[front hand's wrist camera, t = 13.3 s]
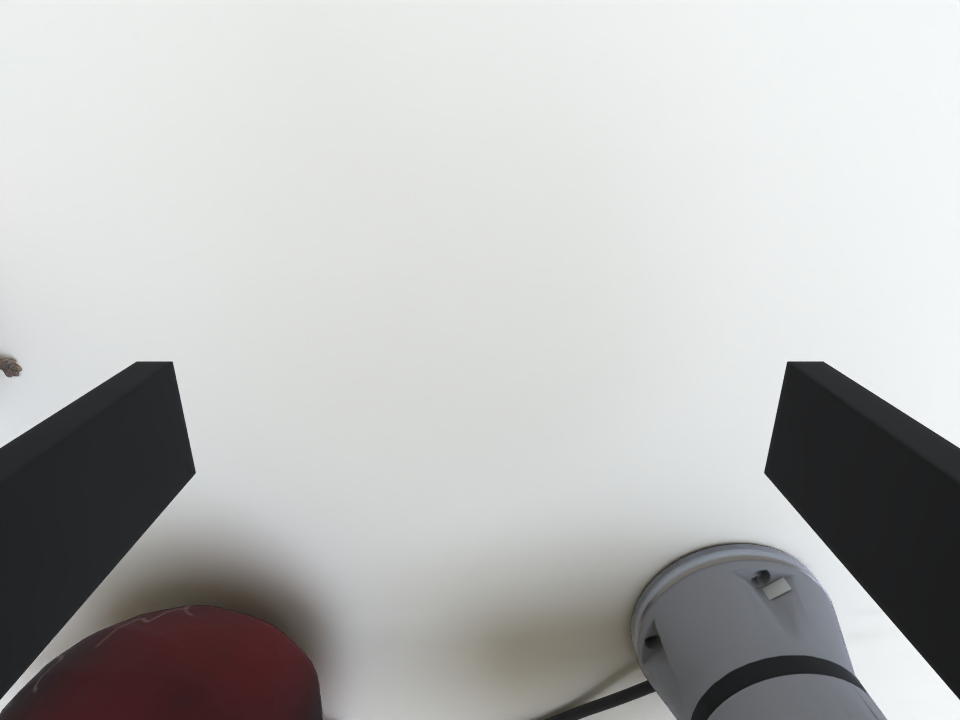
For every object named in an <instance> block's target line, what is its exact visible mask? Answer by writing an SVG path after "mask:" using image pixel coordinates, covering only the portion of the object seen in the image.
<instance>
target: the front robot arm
mask: <svg viewBox="0 0 960 720" xmlns="http://www.w3.org/2000/svg"><path fill="white" fill-rule="evenodd" d="M195 473H196V472H195V467H194V462H193V457H192V452H191V448H190V443H189V438H188V433H187V428H186V423H185V419H184V414H183V409H182V404H181V399H180V395H179V390H178V385H177V380H176V375H175V371H174V366H173V362H135V363H134V364H132V365H131V366H129V367H127V368H126V369H124V370H123V371H121V372H120V373H118V374H116V375H115V376H113V377H112V378H110V379H109V380H107V381H105V382H104V383H102V384H101V385H99V386H98V387H96V388H94V389H93V390H91V391H90V392H88V393H87V394H85V395H83V396H82V397H80V398H79V399H77V400H76V401H74V402H72V403H71V404H69V405H68V406H66V407H65V408H63V409H61V410H60V411H58V412H57V413H55V414H54V415H52V416H50V417H49V418H47V419H46V420H44V421H43V422H41V423H39V424H38V425H36V426H35V427H33V428H32V429H30V430H28V431H27V432H25V433H24V434H22V435H20V436H19V437H17V438H16V439H14V440H13V441H11V442H9V443H8V444H6V445H5V446H3V447H2V448H0V699H1V698H2V697H3V696H4V695H5V694H6V692H7V691H8V690H9V689H10V688H11V687H12V686H13V684H14V683H15V682H16V681H17V680H18V679H19V677H20V676H21V675H22V674H23V673H24V672H25V670H26V669H27V668H28V667H29V666H30V665H31V663H32V662H33V661H34V660H35V659H36V658H37V657H38V655H39V654H40V653H41V652H42V651H43V650H44V648H45V647H46V646H47V645H48V644H49V643H50V641H51V640H52V639H53V638H54V637H55V636H56V635H57V633H58V632H59V631H60V630H61V629H62V628H63V626H64V625H65V624H66V623H67V622H68V621H69V619H70V618H71V617H72V616H73V615H74V614H75V612H76V611H77V610H78V609H79V608H80V607H81V606H82V604H83V603H84V602H85V601H86V600H87V599H88V597H89V596H90V595H91V594H92V593H93V592H94V590H95V589H96V588H97V587H98V586H99V585H100V583H101V582H102V581H103V580H104V579H105V578H106V577H107V575H108V574H109V573H110V572H111V571H112V570H113V568H114V567H115V566H116V565H117V564H118V563H119V561H120V560H121V559H122V558H123V557H124V556H125V555H126V553H127V552H128V551H129V550H130V549H131V548H132V546H133V545H134V544H135V543H136V542H137V541H138V539H139V538H140V537H141V536H142V535H143V534H144V532H145V531H146V530H147V529H148V528H149V527H150V526H151V524H152V523H153V522H154V521H155V520H156V519H157V517H158V516H159V515H160V514H161V513H162V512H163V510H164V509H165V508H166V507H167V506H168V505H169V503H170V502H171V501H172V500H173V499H174V498H175V497H176V495H177V494H178V493H179V492H180V491H181V490H182V488H183V487H184V486H185V485H186V484H187V483H188V481H189V480H190V479H191V478H192V477H193V476H194V475H195ZM764 473H765V475H766V476H767V477H768V478H769V479H770V480H771V481H772V483H773V484H774V485H775V486H776V487H777V488H778V490H779V491H780V492H781V493H782V494H783V495H784V497H785V498H786V499H787V500H788V501H789V502H790V503H791V505H792V506H793V507H794V508H795V509H796V510H797V512H798V513H799V514H800V515H801V516H802V517H803V519H804V520H805V521H806V522H807V523H808V524H809V526H810V527H811V528H812V529H813V530H814V531H815V532H816V534H817V535H818V536H819V537H820V538H821V539H822V541H823V542H824V543H825V544H826V545H827V546H828V548H829V549H830V550H831V551H832V552H833V553H834V555H835V556H836V557H837V558H838V559H839V560H840V561H841V563H842V564H843V565H844V566H845V567H846V568H847V570H848V571H849V572H850V573H851V574H852V575H853V577H854V578H855V579H856V580H857V581H858V582H859V583H860V585H861V586H862V587H863V588H864V589H865V590H866V592H867V593H868V594H869V595H870V596H871V597H872V599H873V600H874V601H875V602H876V603H877V604H878V606H879V607H880V608H881V609H882V610H883V611H884V612H885V614H886V615H887V616H888V617H889V618H890V619H891V621H892V622H893V623H894V624H895V625H896V626H897V628H898V629H899V630H900V631H901V632H902V633H903V635H904V636H905V637H906V638H907V639H908V640H909V641H910V643H911V644H912V645H913V646H914V647H915V648H916V650H917V651H918V652H919V653H920V654H921V655H922V657H923V658H924V659H925V660H926V661H927V662H928V664H929V665H930V666H931V667H932V668H933V669H934V670H935V672H936V673H937V674H938V675H939V676H940V677H941V679H942V680H943V681H944V682H945V683H946V684H947V686H948V687H949V688H950V689H951V690H952V691H953V692H954V694H955V695H956V696H957V697H958V698H959V699H960V448H958V447H957V446H955V445H954V444H952V443H951V442H949V441H947V440H946V439H944V438H943V437H941V436H940V435H938V434H936V433H935V432H933V431H932V430H930V429H928V428H927V427H925V426H924V425H922V424H921V423H919V422H917V421H916V420H914V419H913V418H911V417H910V416H908V415H906V414H905V413H903V412H902V411H900V410H899V409H897V408H895V407H894V406H892V405H891V404H889V403H888V402H886V401H884V400H883V399H881V398H880V397H878V396H877V395H875V394H873V393H872V392H870V391H869V390H867V389H866V388H864V387H862V386H861V385H859V384H858V383H856V382H855V381H853V380H851V379H850V378H848V377H847V376H845V375H844V374H842V373H840V372H839V371H837V370H836V369H834V368H833V367H831V366H829V365H828V364H826V363H825V362H787V366H786V370H785V375H784V380H783V385H782V390H781V395H780V399H779V404H778V409H777V414H776V419H775V423H774V428H773V433H772V438H771V443H770V447H769V452H768V457H767V462H766V467H765V472H764ZM631 636H632V642H633V646H634V649H635V652H636V656H637V659H638V662H639V665H640V667H641V670H642V672H643V674H644V675H645V677H646V678H647V680H648V681H645V682H643V683H640V684H637V685H635V686H632V687H630V688H627V689H625V690H622V691H619V692H617V693H614V694H611V695H609V696H606V697H603V698H600V699H597V700H595V701H592V702H589V703H586V704H583V705H581V706H578V707H576V708H573V709H570V710H568V711H565V712H563V713H560V714H558V715H556V716H553V717H551V718H548V719H546V720H579V719H581V718H584V717H587V716H589V715H592V714H595V713H598V712H601V711H604V710H607V709H610V708H613V707H616V706H618V705H621V704H624V703H626V702H629V701H632V700H634V699H637V698H640V697H642V696H645V695H647V694H650V693H653V692H655V691H656V692H657V693H658V695H659V696H660V697H661V699H662V700H663V701H664V703H665V704H666V705H667V707H668V708H669V709H670V711H671V712H672V713H673V715H674V716H675V717H676V719H677V720H887V719H886V717H885V716H884V715H883V713H882V712H881V711H880V709H879V708H878V706H877V705H876V704H875V702H874V701H873V700H872V698H871V697H870V696H869V694H868V693H867V692H866V690H865V689H864V687H863V686H862V685H861V683H860V682H859V680H858V679H857V677H856V676H855V674H854V670H853V667H852V664H851V661H850V658H849V654H848V651H847V648H846V645H845V642H844V638H843V635H842V632H841V629H840V626H839V623H838V619H837V616H836V613H835V610H834V607H833V604H832V602H831V600H830V598H829V596H828V594H827V593H826V591H825V590H824V589H823V587H822V586H821V585H820V583H819V582H818V581H817V580H816V578H815V577H814V576H813V575H812V573H811V572H810V571H809V570H808V569H807V568H806V567H805V566H804V565H803V564H802V563H801V562H799V561H798V560H796V559H795V558H793V557H792V556H790V555H788V554H786V553H784V552H781V551H779V550H776V549H773V548H770V547H765V546H760V545H752V544H729V545H721V546H716V547H711V548H707V549H704V550H701V551H698V552H695V553H693V554H690V555H688V556H686V557H684V558H682V559H680V560H678V561H676V562H675V563H673V564H672V565H670V566H669V567H667V568H666V569H664V570H663V571H662V572H661V573H660V574H658V575H657V576H656V577H655V578H654V579H653V580H652V581H651V582H650V584H649V585H648V586H647V587H646V589H645V590H644V591H643V593H642V594H641V596H640V598H639V600H638V602H637V604H636V606H635V609H634V612H633V616H632V622H631Z"/></svg>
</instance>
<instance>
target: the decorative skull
mask: <svg viewBox="0 0 960 720" xmlns="http://www.w3.org/2000/svg"><path fill="white" fill-rule="evenodd" d="M0 720H323V718H322V706H321V697H320V688H319V682H318V677H317V673H316V671H315V669H314V666H313V664H312V662H311V661H310V659H309V658H308V657H307V656H306V654H305V653H304V652H303V651H302V650H301V649H300V648H299V647H298V646H297V645H296V644H295V643H294V642H293V641H292V640H291V639H289V638H288V637H287V636H286V635H285V634H284V633H282V632H281V631H280V630H279V629H277V628H276V627H274V626H273V625H271V624H269V623H267V622H264V621H262V620H259V619H257V618H254V617H251V616H248V615H245V614H242V613H238V612H234V611H231V610H227V609H223V608H219V607H214V606H203V605H195V606H184V607H179V608H173V609H168V610H162V611H157V612H151V613H147V614H143V615H139V616H137V617H134V618H131V619H128V620H126V621H123V622H121V623H118V624H116V625H113V626H111V627H108V628H106V629H103V630H101V631H98V632H96V633H94V634H92V635H90V636H89V637H87V638H85V639H83V640H82V641H80V642H79V643H77V644H76V645H74V646H73V647H71V648H70V649H68V650H67V651H65V652H64V653H62V654H61V655H59V656H58V657H56V658H55V659H54V660H52V661H51V662H50V663H48V664H47V665H46V666H45V667H44V668H43V669H42V670H41V671H40V672H39V673H38V674H37V675H36V676H35V677H34V678H33V679H32V680H31V681H30V682H28V683H27V684H26V685H25V686H24V687H23V688H22V689H21V690H20V691H19V692H18V693H17V695H16V696H15V697H14V698H13V699H12V700H11V701H10V702H9V703H8V704H7V705H6V706H5V708H4V709H3V710H2V712H1V713H0Z"/></svg>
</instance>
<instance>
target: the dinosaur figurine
mask: <svg viewBox="0 0 960 720" xmlns="http://www.w3.org/2000/svg"><path fill="white" fill-rule="evenodd" d="M14 363H16V361H14V360H9V359H8V358H5V359H2V360H0V369H1V370H3V371H4V373H5V375H6V376H7V377H12V375H14V376H19V375H18V371H21V368H20V367H19V366H18V365H16V364H14Z"/></svg>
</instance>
